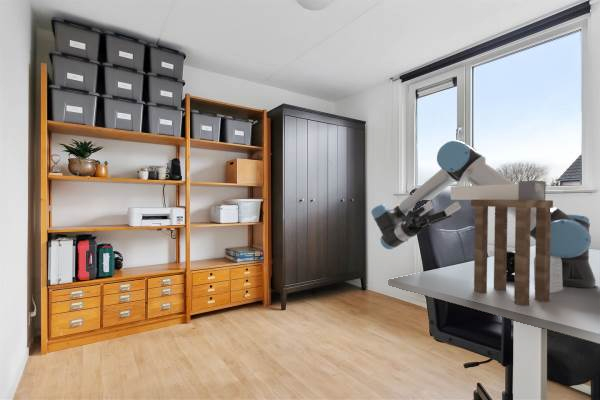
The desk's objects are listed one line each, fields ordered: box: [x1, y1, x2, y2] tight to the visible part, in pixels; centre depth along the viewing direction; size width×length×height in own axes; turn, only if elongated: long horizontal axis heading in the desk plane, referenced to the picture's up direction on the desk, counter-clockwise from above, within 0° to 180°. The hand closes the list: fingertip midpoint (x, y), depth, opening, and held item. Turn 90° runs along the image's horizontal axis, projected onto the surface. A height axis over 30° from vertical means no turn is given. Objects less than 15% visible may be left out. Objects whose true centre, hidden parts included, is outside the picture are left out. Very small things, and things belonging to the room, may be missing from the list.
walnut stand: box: [470, 199, 554, 307], centre depth 91 cm, size 12×16×28 cm
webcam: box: [506, 250, 515, 283], centre depth 110 cm, size 8×8×10 cm
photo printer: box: [533, 254, 564, 294], centre depth 98 cm, size 10×4×12 cm, turn 117°
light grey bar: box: [450, 180, 546, 201], centre depth 96 cm, size 5×27×5 cm, turn 23°
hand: (445, 204), depth 112 cm, fingers open, 13 cm apart
